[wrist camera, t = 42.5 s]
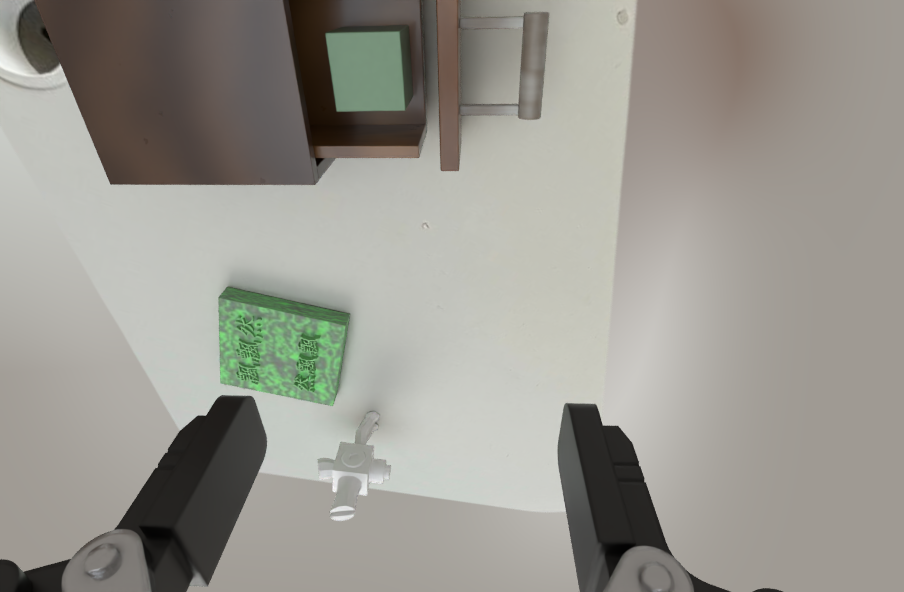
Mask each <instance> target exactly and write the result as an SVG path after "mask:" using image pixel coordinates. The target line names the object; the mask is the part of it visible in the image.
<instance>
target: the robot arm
mask: <svg viewBox="0 0 904 592" xmlns="http://www.w3.org/2000/svg"><path fill="white" fill-rule="evenodd" d="M266 448H267V437H266V433H265V430H264V427H263V424H262V421H261V418H260V415H259V412H258V409H257V406H256V403H255V400H254V398H253V397H252V396H228V395H222V396H220V397H218V398H217V399H216V401H215V402H214V404H213V406H212V407H211V409H210V410H209V412H208V414H207V415H206V416H197V417H196V418H195V419H193V420H192V421H191V422H190V423H189V424H188V425H186V426H185V427H184V428H183V429H182V430H181V431H180V432H179V433H178V435H177V436H176V438H175V439H174V441H173V442H172V444H171V445H170V447H169V448H168V452H167V453H165V455H164V456H163V457H162V459H161V460H160V462H159V464H158V468H155V470H154V471H153V473H152V474H151V476H150V477H149V479H148V480H147V482H146V483H145V485H144V486H143V488H142V489H141V491H140V493H139V494H138V496H137V497H136V499H135V500H134V502H133V503H132V505H131V506H130V508H129V509H128V511H127V512H126V514H125V515H124V517H123V518H122V520H121V521H120V523H119V525H118V526H117V527H116V528H115V530H113V531H110V532H107V533H104V534H102V535H100V536H98V537H96V538H94V539H93V540H91V541H90V542H88V543H87V544H86V545H84V546H83V547H82V548H81V549H80V550H79V551H78V552H77V553H76V554H75V555H74V556H73V557H72V559H69V560H65V561H62V562H58V563H55V564H51V565H47V566H43V567H40V568H36V569H32V570H29V571H25V572H23V571H22V570H21V569H20V568H19V567H18V566H17V565H16V564H15V563H14V562H12V561H9V560H2V559H1V560H0V592H186V591H187V589H188V587H189V586H208V584H209V582H210V580H211V578H212V575H213V573H214V571H215V569H216V566H217V564H218V562H219V560H220V557H221V555H222V553H223V551H224V548H225V546H226V543H227V541H228V539H229V537H230V534H231V532H232V530H233V528H234V526H235V523H236V521H237V519H238V517H239V514H240V512H241V510H242V508H243V505H244V503H245V501H246V498H247V496H248V494H249V492H250V489H251V487H252V485H253V483H254V480H255V478H256V476H257V474H258V471H259V469H260V467H261V465H262V462H263V460H264V457H265V453H266ZM558 466H559V472H560V478H561V484H562V490H563V496H564V502H565V508H566V513H567V519H568V525H569V531H570V537H571V543H572V548H573V554H574V560H575V566H576V572H577V578H578V584H579V589H580V592H730V591H727V590H724V589H722V588H719V587H716V586H713V585H710V584H708V583H706V582H703V581H701V580H700V579H698V578H696V577H694V576H693V575H692V574H690V573H689V572H688V571H687V570H685V568H684V567H683V566H682V565H681V564H680V563H679V562H678V561H677V560H676V559H675V558H674V556H673V555H672V553H671V552H670V550H669V548H668V546H667V543H666V541H665V538H664V535H663V532H662V529H661V526H660V523H659V520H658V517H657V514H656V511H655V508H654V506H653V503H652V500H651V497H650V494H649V491H648V488H647V485H646V483H645V482H644V476H643V473H642V470H641V467H640V466H639V461H638V459H637V456H636V453H635V450H634V447H633V444H632V442H631V441H630V440H629V439H628V437H627V436H626V435H625V434H624V433H623V431H622V430H621V429H620V428H619V427H618V426H603V425H602V421H601V418H600V414H599V411H598V408H597V406H596V405H595V404H573V403H566V404H565V405H564V409H563V415H562V422H561V428H560V434H559V440H558ZM753 592H782V591H779V590H776V589H769V588H765V589H764V588H763V589H758V590H755V591H753Z"/></svg>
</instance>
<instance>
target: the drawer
mask: <svg viewBox="0 0 904 592" xmlns="http://www.w3.org/2000/svg"><path fill="white" fill-rule="evenodd" d="M288 1H289V7H290V12H291V18H292V24H293V30H294V36H295V42H296V48H297V54H298V60H299V66H300V72H301V78H302V83H303V89H304V95H305V101H306V107H307V113H308V119H309V125H310V131H311V137H312V143H313V149H314V155H315V158H419V156H420V153H421V150H422V146H423V143H424V140H425V137H426V133H427V119H426V94H425V69H424V44H423V20H422V0H288ZM436 11H437V49H438V87H439V125H440V163H441V171H459V164H460V152H461V115H518V118H520V119H525V120H535V119H539V118H540V117H541V107H542V95H543V83H544V71H545V59H546V47H547V35H548V23H549V13H548V12H526V13H524V17H522V16H517V17H461V0H436ZM390 25H408V26H409V38H410V54H411V70H412V86H413V97H412V99H411V101H410V103H409V105H408V107H407V108H406V110H405V111H348V112H337V111H336V105H335V98H334V91H333V84H332V77H331V71H330V64H329V57H328V50H327V43H326V37H325V33H326V32H329V31H332V30H335V29H338V28H340V27H347V26H390ZM514 28H523V37H522V54H521V71H520V88H519V104H461V29H514Z"/></svg>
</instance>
